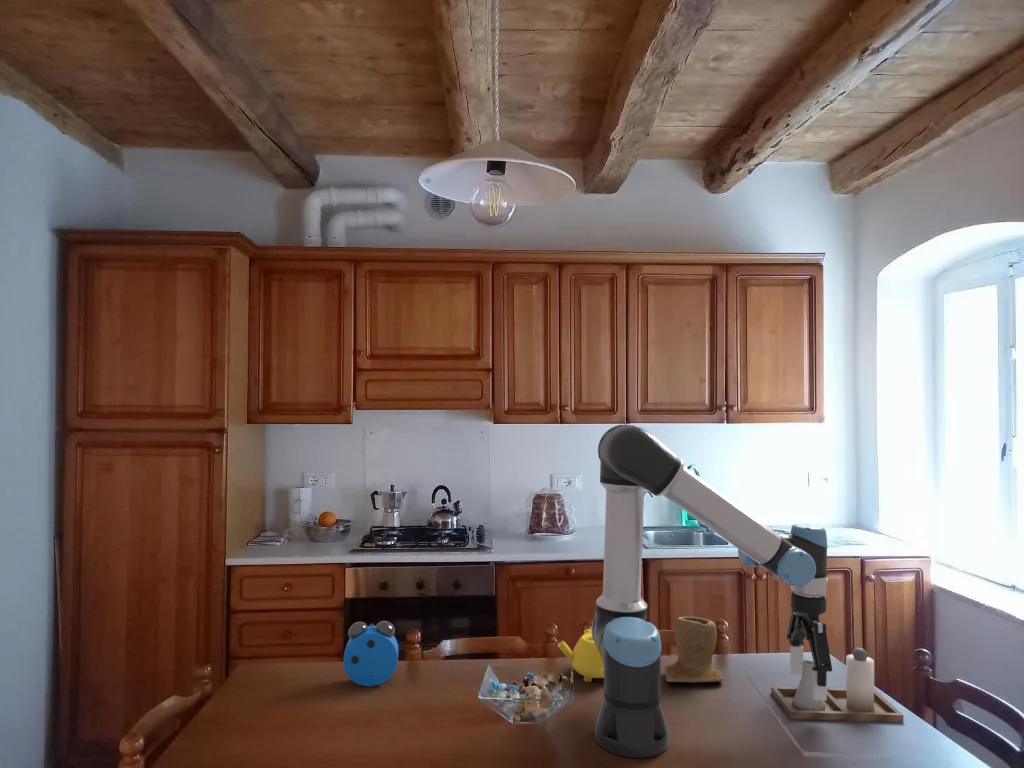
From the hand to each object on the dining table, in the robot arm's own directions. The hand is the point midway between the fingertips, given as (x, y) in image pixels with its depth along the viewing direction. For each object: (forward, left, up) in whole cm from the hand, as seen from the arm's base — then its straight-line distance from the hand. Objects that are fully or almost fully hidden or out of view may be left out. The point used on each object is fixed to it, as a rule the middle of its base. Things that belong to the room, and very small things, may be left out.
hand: (807, 686), depth 155 cm
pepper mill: (+12, 0, -4) cm, 13 cm away
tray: (+6, 0, -5) cm, 8 cm away
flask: (0, 0, -5) cm, 5 cm away
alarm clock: (-103, +8, -5) cm, 103 cm away
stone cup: (-23, +16, -6) cm, 29 cm away
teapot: (-48, +17, -6) cm, 51 cm away
